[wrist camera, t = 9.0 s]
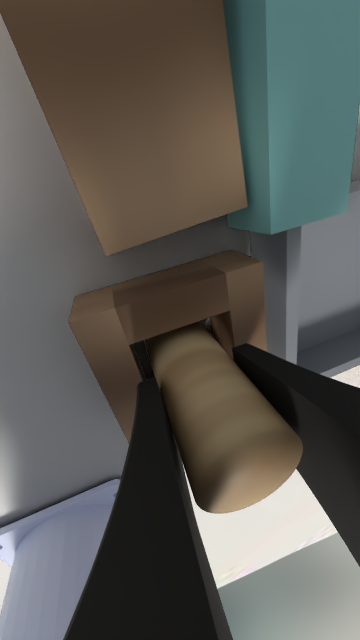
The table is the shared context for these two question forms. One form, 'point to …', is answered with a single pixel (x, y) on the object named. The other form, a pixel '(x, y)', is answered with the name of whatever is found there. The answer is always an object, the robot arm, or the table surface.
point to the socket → (166, 318)
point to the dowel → (220, 422)
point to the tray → (314, 290)
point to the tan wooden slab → (136, 109)
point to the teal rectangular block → (294, 107)
